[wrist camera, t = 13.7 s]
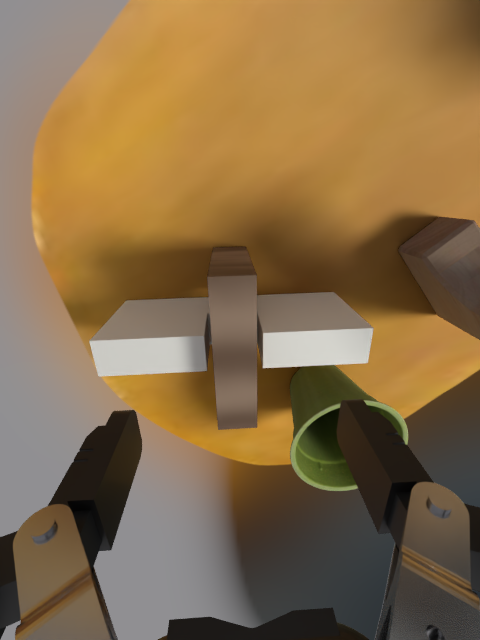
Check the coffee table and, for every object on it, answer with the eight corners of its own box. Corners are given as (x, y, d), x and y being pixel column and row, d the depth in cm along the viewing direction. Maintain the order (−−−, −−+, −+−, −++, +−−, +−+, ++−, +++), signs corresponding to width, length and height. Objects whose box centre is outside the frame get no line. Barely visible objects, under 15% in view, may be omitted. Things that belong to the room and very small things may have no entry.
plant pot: (353, 416, 42) (395, 488, 32) (270, 418, 42) (286, 493, 31) (367, 342, 37) (422, 399, 27) (275, 344, 37) (295, 403, 26)
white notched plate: (126, 300, 34) (89, 340, 24) (333, 291, 34) (373, 328, 25) (131, 328, 35) (98, 376, 26) (330, 319, 36) (367, 363, 27)
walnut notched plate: (213, 247, 32) (207, 276, 21) (245, 246, 32) (256, 275, 21) (220, 359, 37) (218, 429, 26) (247, 358, 37) (257, 427, 26)
